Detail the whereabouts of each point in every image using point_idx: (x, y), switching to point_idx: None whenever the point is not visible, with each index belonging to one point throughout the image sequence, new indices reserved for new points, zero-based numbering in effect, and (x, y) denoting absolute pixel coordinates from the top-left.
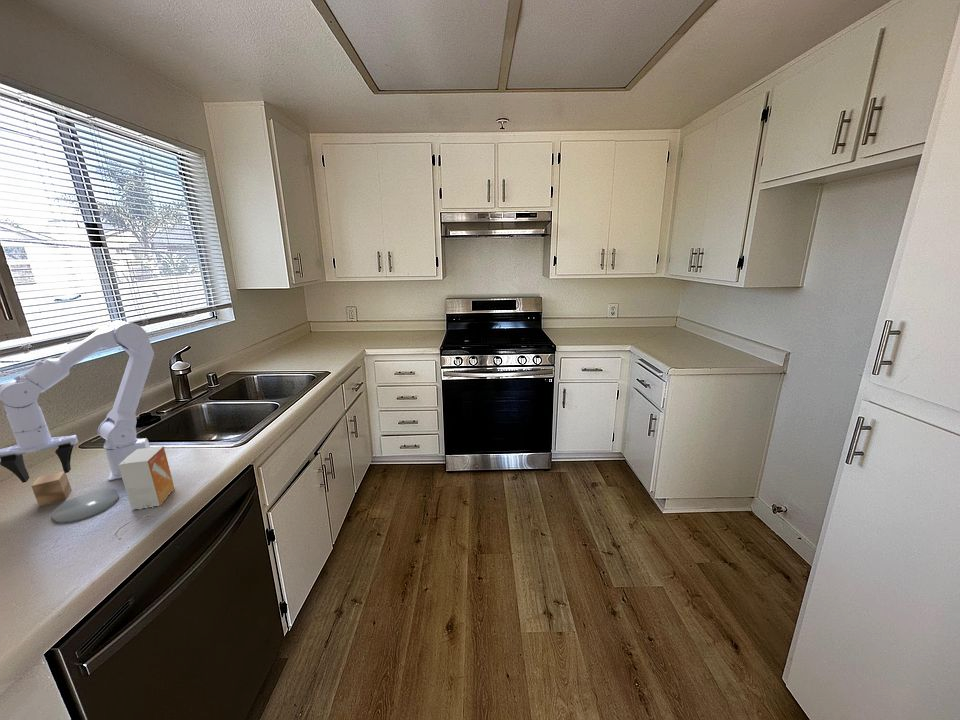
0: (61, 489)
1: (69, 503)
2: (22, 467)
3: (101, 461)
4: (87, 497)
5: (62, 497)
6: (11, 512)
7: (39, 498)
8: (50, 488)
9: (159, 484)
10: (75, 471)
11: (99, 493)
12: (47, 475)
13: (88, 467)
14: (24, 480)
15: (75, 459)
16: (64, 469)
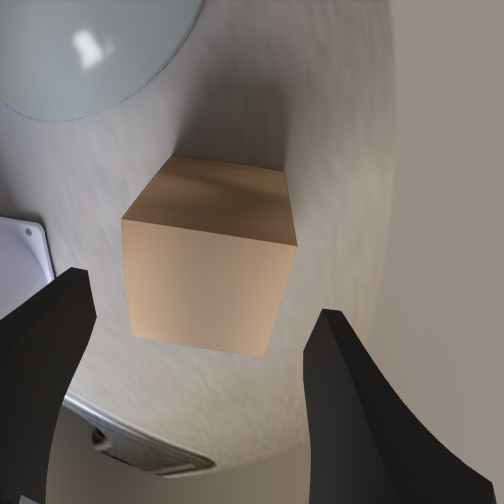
0: (155, 180)
1: (131, 38)
2: (327, 438)
3: (133, 391)
4: (63, 60)
5: (179, 161)
6: (381, 203)
7: (273, 188)
8: (200, 199)
9: None
10: (192, 383)
11: (25, 76)
12: (216, 341)
13: (159, 382)
14: (331, 319)
15: (209, 433)
16: (62, 287)
